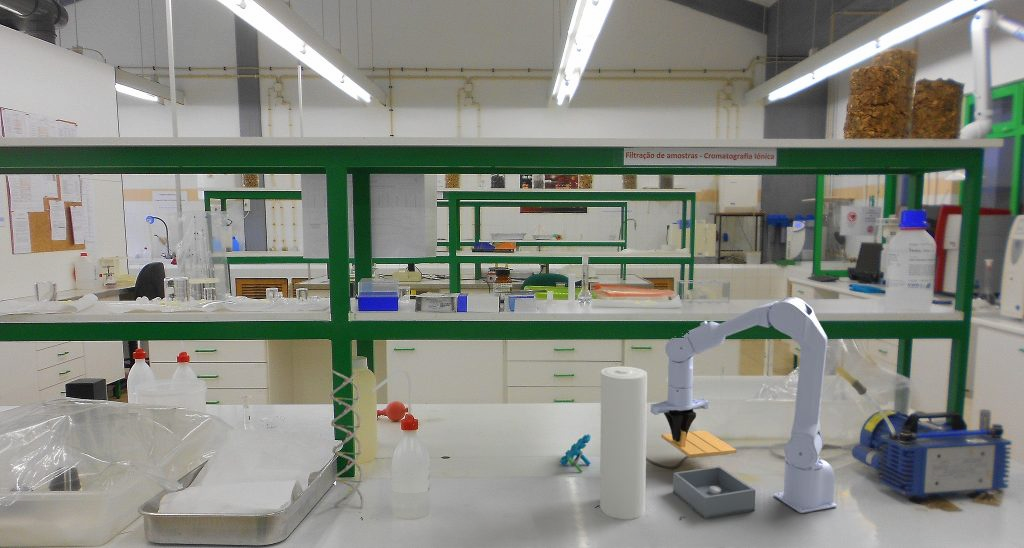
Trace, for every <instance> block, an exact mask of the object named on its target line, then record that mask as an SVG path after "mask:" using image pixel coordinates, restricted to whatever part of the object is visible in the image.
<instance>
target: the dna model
mask: <svg viewBox="0 0 1024 548" xmlns="http://www.w3.org/2000/svg"><path fill="white" fill-rule="evenodd" d="M331 372H332V373H333V374H335V375H337V376H338V377H339V378H343V379H344V381H343V382H342V384H340V386H338V387H337V388H336V389H334V390H333V391H331V393H330V395H329V397H330V398H331V400H334V401H335V402H337V403H338V405H339V406H340V405H343V406H345V409H344V410H343V412H342V413H340V414H339V415H338V416H337V417H336V418H333V419H332V421H331V423H330V424H331V426H332V427H333V428H336V429H338V430H340V431H342V432H344V433H346V437H345V439H344V440H343V441H341V442H340V443H339V444H338V445H335V446H333V448H332V451H331V452H332V453H333V454H334V455H337V456H338V457H342V458H345V459H346V460H348V462H347V465H346V466H345V468H344V469H342V470H341V471H338V472H337V473H335V475H334V476H333V478H332V479H333V480H334V481H336V482H339V483H341V485H346V486H348V487H350V488H349V489H348V492H347V494H346V495H345V496H344V497H343V498H341V499H339V500H338V501H336V502H335V503H334V507H337V506H338V507H339V504H341V503H342V502H344V501H346V500H347V499H348V498H349V497H351V496H352V495H353V494H354V493H355V492H357V494H358V495H359V497H360V499H359V500H360V509H363V508H364V497H363V494H362V492H361V491H360V490H359V487H360V486H361V483H362V482H363V481H362V480H363V478H364V477H363V475H364V474H363V470H362V469H363V468H362V467H361V466H360V464H359V462H357V461H358V459H360V456H361V454H362V449H363V448H362V447H363V446H362V443H361V441H360V439H359V438H358V437H357V435H356V434H357V433H358V430H360V427H361V419H362V418H361V417H360V413H359V412H358V411H357V410H356V409H355V407H356V405H357V404H358V402H359V400H360V396H361V394H360V388H359V386H357V384H356V383H355V382H354V381H353V379H354V377H355V376H356V375H357V371H354V373H353V374H351V376H350V377H348V376H345V375H344V374H342V373H340V372H338V371H335V370H334V369H332V370H331ZM348 384H351V385H352V386H353V387H354V388H355V391H356V398H347V397H334V394H335V393H337V392H338V391H339V390H341V389H342V388H344V387H345V386H346V385H348ZM342 400H346V401H347V400H348V401H354V402H353V403H352V404H351V405H350V404H348V403H347V402H345V401H342ZM349 412H352V413H354V414H355V415H356V417H357V425H346V428H355V429H354V431H353V432H351V429H350V430H348V429H346V428H345V425H344V424H343V425H342V424H335V423H336V422H337V421H339V419H341V418H342V417H344V416H345V415H347V414H348V413H349ZM352 438H353V439H354V440H355V441H356V443H357V444H358V451H357V452H345V451H337V449H339V448H340V447H342V446H343V445H345V444H347V442H349V441H350V440H351V439H352ZM348 455H354V456H355V455H356V456H355V459H353V458H352V457H350V456H348ZM350 462H351V463H350ZM354 465H355V467H357V469H358V471H359V480H349V479H341V478H338V477H339V476H340V475H343V474H344V473H345V472H348V470H349V469H351V468H352V467H353V466H354ZM352 483H356V485H355V484H352Z"/></svg>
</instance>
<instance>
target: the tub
mask: <svg viewBox="0 0 1024 548" xmlns="http://www.w3.org/2000/svg"><path fill="white" fill-rule="evenodd" d="M672 475H673V476H672V478H673V479H672V480H673V481H672V483H673V484H672V493H673V494H675V495H676V496H677V497H678V498H679V499H681V500H682V501H683V502H684V503H685V504H686V505H688V506H689V507H690V508H691V509H693V511H694V512H696V513H697V514H698V515H700V516H701V517H702V518H703V519H704V520H708V519H714V518H719V517H726V516H730V515H737V514H743V513H748V512H753V511H755V509H756V489H754V488H753V487H751V486H750V485H749V484H747V483H746V482H744V481H743V480H741V479H740V478H738V477H737V476H736V475H734V474H732V473H731V472H729V471H728V470H726V469H725V468H723V467H722V466H721V465H718V466H711V467H704V468H699V469H698V468H697V469H691V470H684V471H683V470H682V471H677V472H673V474H672Z"/></svg>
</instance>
